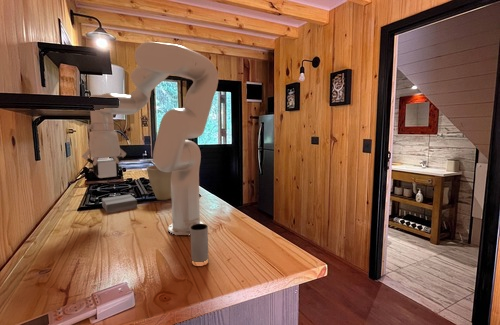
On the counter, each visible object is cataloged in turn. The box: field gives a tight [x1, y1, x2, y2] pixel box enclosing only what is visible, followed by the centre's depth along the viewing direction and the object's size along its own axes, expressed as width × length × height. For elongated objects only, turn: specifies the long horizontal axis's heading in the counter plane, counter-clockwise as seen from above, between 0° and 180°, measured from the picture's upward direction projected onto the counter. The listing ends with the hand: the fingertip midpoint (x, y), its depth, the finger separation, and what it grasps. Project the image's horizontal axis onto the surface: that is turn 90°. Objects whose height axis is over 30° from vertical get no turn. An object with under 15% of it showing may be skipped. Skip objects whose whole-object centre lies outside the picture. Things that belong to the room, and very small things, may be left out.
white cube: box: [97, 158, 118, 179], centre depth 106 cm, size 6×6×6 cm
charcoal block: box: [101, 193, 138, 214], centre depth 121 cm, size 12×12×4 cm
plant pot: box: [146, 164, 172, 201], centre depth 135 cm, size 15×15×16 cm
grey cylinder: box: [190, 223, 209, 262], centre depth 73 cm, size 4×4×10 cm
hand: (106, 173), depth 106 cm, fingers closed on white cube, 6 cm apart
